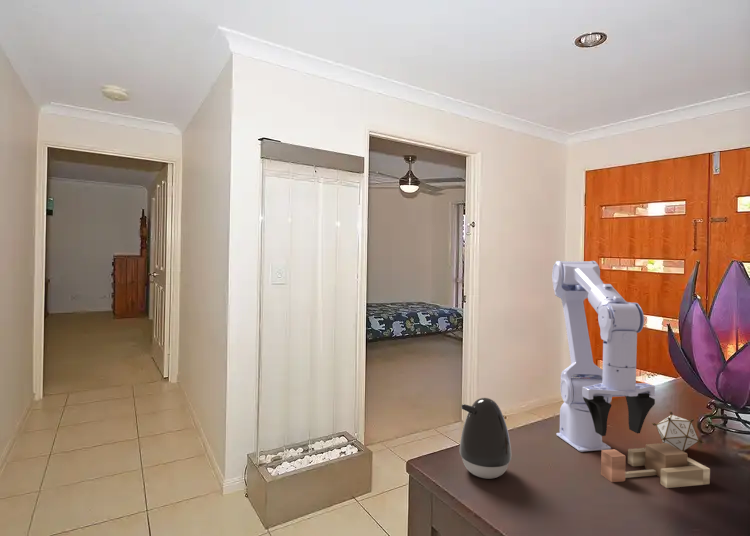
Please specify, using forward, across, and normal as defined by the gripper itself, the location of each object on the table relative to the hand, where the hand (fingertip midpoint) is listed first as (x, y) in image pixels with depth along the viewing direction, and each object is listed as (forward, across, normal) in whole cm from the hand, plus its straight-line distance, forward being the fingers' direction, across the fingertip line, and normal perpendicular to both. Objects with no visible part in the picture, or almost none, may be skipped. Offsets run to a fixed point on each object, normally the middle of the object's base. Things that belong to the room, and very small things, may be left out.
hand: (617, 432), depth 84 cm
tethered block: (+9, +6, +1) cm, 11 cm away
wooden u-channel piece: (+9, +11, 0) cm, 15 cm away
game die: (+10, +23, +9) cm, 27 cm away
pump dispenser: (+10, -25, +7) cm, 27 cm away
